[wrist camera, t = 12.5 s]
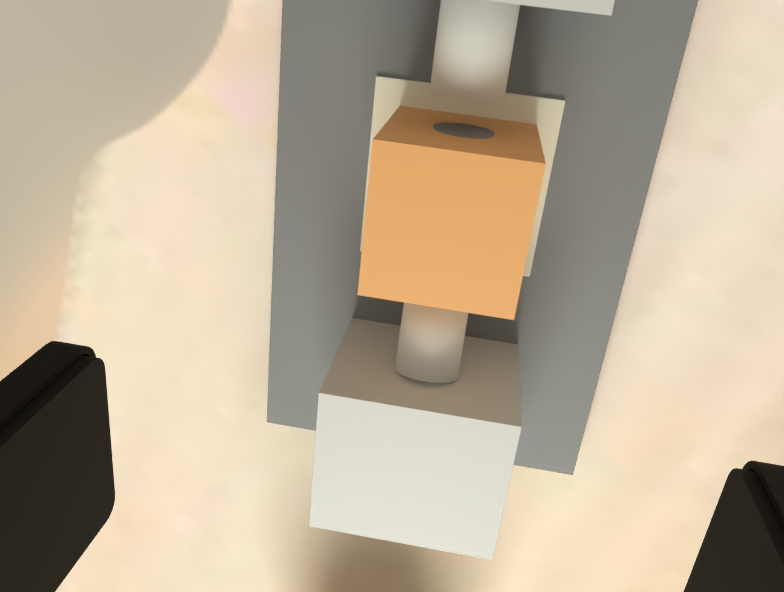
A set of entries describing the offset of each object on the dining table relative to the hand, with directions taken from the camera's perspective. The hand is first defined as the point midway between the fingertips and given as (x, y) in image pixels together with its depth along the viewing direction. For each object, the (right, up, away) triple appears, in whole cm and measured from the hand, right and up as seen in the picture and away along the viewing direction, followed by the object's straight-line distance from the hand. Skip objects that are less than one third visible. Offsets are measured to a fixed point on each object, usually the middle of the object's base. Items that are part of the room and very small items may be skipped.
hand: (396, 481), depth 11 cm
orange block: (+2, +7, +16) cm, 18 cm away
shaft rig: (+3, +8, +18) cm, 20 cm away
